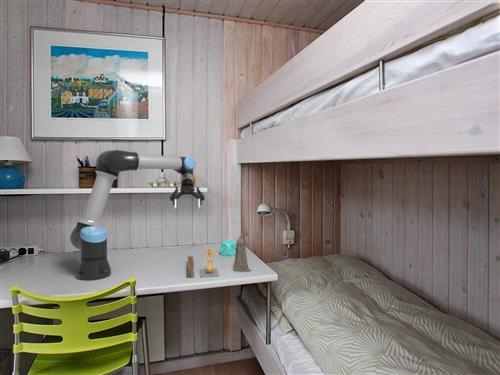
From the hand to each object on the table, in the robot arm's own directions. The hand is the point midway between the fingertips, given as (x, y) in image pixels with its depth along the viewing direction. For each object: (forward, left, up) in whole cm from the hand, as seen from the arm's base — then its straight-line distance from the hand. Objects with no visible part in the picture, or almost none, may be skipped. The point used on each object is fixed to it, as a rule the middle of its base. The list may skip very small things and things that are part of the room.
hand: (187, 208), depth 191 cm
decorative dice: (+25, +7, -30) cm, 40 cm away
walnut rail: (+1, -21, -30) cm, 36 cm away
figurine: (+11, -29, -30) cm, 43 cm away
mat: (+10, -29, -30) cm, 43 cm away
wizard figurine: (+28, -26, -30) cm, 48 cm away
